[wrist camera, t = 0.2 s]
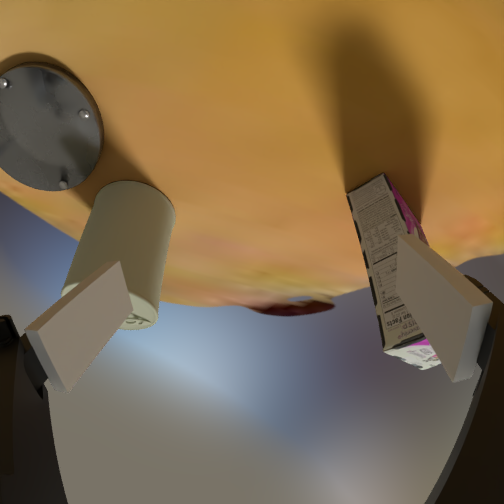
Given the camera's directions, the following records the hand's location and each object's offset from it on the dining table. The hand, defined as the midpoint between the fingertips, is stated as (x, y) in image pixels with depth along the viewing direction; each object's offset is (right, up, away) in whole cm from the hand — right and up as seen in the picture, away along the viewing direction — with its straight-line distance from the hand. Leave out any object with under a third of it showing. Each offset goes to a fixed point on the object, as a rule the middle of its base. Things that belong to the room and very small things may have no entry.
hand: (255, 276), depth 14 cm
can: (-13, +6, +18) cm, 23 cm away
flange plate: (-20, +12, +8) cm, 25 cm away
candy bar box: (+15, +6, +18) cm, 24 cm away
